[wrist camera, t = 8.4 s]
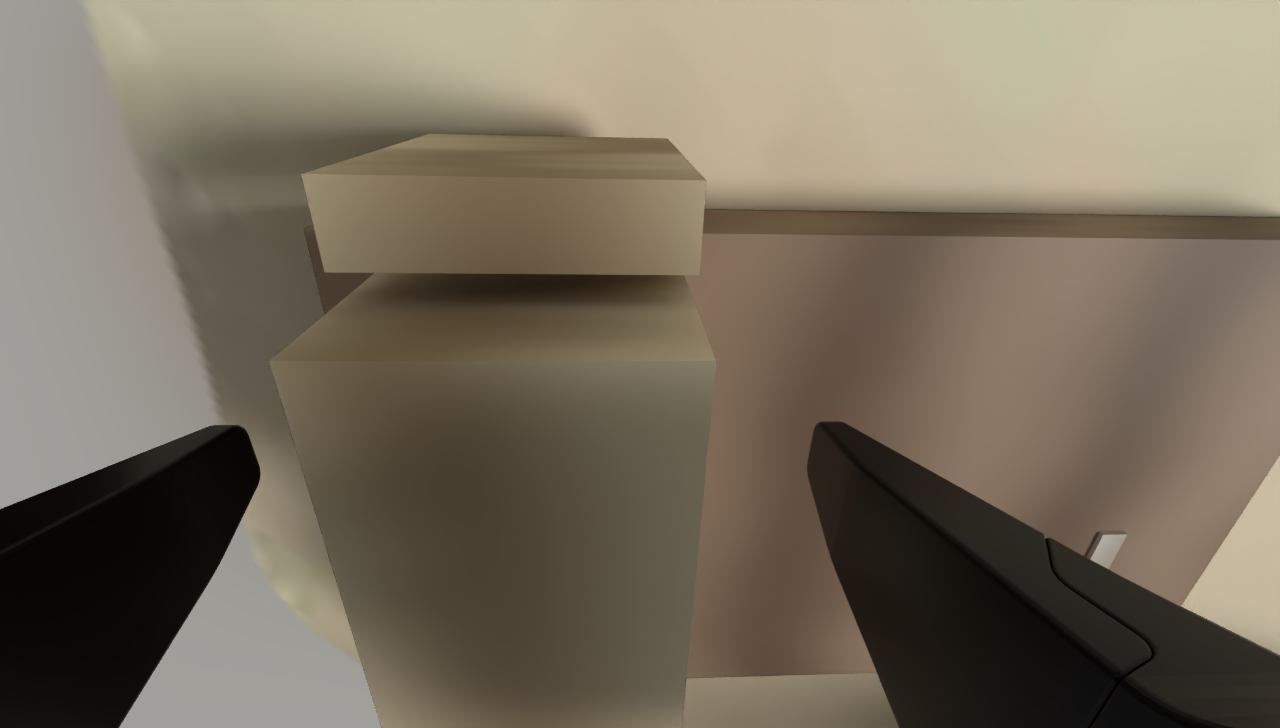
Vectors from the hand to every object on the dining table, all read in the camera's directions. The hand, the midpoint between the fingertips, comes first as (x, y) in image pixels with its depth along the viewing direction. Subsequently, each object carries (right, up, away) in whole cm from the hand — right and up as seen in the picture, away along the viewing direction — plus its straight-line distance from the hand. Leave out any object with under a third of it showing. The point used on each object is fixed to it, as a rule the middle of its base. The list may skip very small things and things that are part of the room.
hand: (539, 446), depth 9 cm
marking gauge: (0, 0, +3) cm, 3 cm away
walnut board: (+6, -1, +5) cm, 8 cm away
